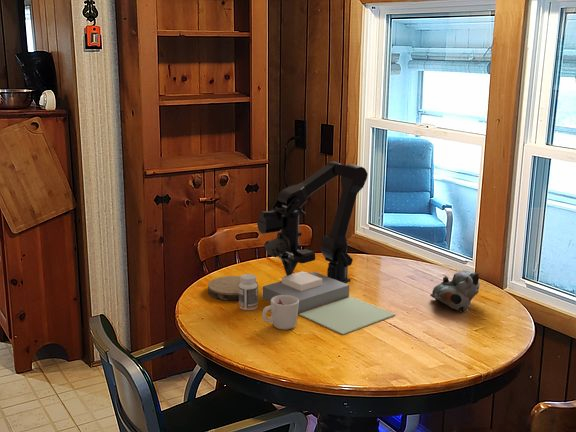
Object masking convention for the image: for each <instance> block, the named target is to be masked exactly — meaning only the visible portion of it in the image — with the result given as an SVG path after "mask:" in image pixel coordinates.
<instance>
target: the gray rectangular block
mask: <svg viewBox="0 0 576 432" xmlns="http://www.w3.org/2000/svg"><path fill="white" fill-rule="evenodd" d="M308 273H309V274H312V275H314V276H317V277H319V278H322V285H320V286H316V287H313V288H310V289H307V290H303V291H299V290H297V289H295V288H292V287H290V286H288V285H285V284H283V283H282V280H280V281H277V282H273V283H270V284H266V285H264V286H262V299H264V300H265V301H268V302H269V303H271V299H272V298H273V297H275V296H278V295H290V296H294V297H296V298H298V299H299V307H298V314H300V313H303V312H306V311H309V310H312V309H315V308H318V307H321V306H325V305H328V304H331V303H334V302H337V301H340V300H343V299H346V298H349V297H350V284H349V283H346V282H344V283H343V282H340V281H337V280H335V279H332V278H330V277H327V275H324V274H321V273H318V272H316V271H312V272H308Z"/></svg>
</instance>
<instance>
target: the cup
mask: <svg viewBox="0 0 576 432" xmlns="http://www.w3.org/2000/svg"><path fill="white" fill-rule="evenodd" d="M298 307H299V299H298V298H296V297H294V296H290V295H278V296H275V297H273V298H272V299H271V302H270V305H267V306H264V308H263V310H262V313H261V314H262V319H263V321H264V322H266V323H272V325H273V326H274V327H275V328H277V329H280V330H283V331H284V330H286V331H287V330H291V329H293V328H295V326H296V325H297V320H298ZM268 311H270V312H271V313H270V317H269V318H268V317H267V312H268Z"/></svg>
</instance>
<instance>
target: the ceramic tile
mask: <svg viewBox="0 0 576 432" xmlns="http://www.w3.org/2000/svg"><path fill="white" fill-rule="evenodd" d="M309 273H310V272H306V271H302V270H301V271H299V272H294V273H292V274H291V275H288V276H287V275H284V276H282V277H281V281H282V283H283V284H285V285H288V286H290V287H292V288H295V289H297V290H299V291H303V290H307V289H310V288H313V287H316V286H320V285H322V278H319V277H317V276H314V275H312V274H309Z"/></svg>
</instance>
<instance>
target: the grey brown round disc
mask: <svg viewBox="0 0 576 432" xmlns="http://www.w3.org/2000/svg"><path fill="white" fill-rule="evenodd" d="M240 277H241V276H240V275H226V276H219V277H217V278H214V279H211V280H210V281H208V283H207V294H208V296H209V297H210V298H211V299H213V300H218V301H221V302H228V303H229V302H230V303H234V302H239V284H240V283H241V280H240ZM255 282H256V283H257V285H258V286H259V284H258V281H257V280H256V281H255Z"/></svg>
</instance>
